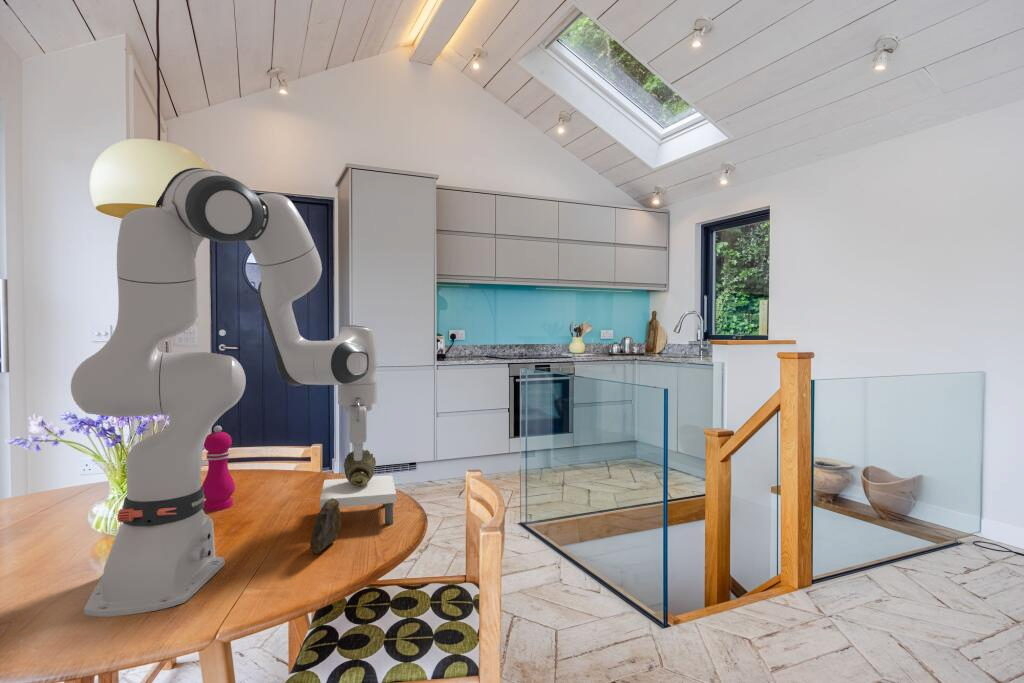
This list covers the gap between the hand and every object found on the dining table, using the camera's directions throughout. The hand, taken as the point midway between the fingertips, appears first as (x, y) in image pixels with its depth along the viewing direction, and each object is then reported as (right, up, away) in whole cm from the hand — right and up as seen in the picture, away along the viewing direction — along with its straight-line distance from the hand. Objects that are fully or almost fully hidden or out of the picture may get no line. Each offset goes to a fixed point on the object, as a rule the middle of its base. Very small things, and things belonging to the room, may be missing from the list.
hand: (357, 455), depth 125 cm
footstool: (0, -14, 0) cm, 14 cm away
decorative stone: (-1, -15, -19) cm, 24 cm away
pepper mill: (-36, -14, +6) cm, 39 cm away
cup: (+1, -5, -3) cm, 6 cm away
